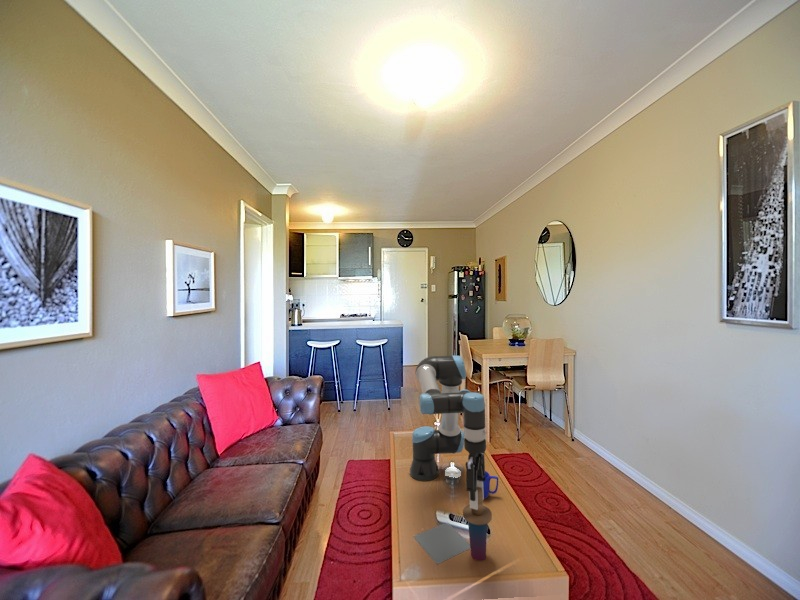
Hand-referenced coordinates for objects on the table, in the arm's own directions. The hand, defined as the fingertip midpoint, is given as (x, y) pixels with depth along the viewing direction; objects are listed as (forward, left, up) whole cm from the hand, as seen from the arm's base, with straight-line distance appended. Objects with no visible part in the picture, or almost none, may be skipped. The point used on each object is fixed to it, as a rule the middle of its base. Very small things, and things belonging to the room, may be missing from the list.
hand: (476, 503), depth 120 cm
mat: (-12, -7, -19) cm, 24 cm away
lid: (0, 0, -4) cm, 4 cm away
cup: (0, 0, -20) cm, 20 cm away
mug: (-27, +28, -20) cm, 43 cm away
